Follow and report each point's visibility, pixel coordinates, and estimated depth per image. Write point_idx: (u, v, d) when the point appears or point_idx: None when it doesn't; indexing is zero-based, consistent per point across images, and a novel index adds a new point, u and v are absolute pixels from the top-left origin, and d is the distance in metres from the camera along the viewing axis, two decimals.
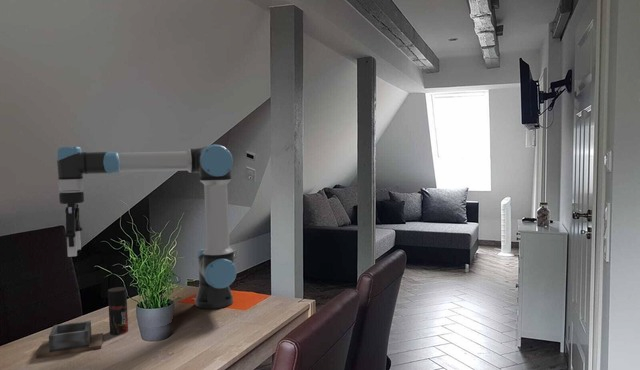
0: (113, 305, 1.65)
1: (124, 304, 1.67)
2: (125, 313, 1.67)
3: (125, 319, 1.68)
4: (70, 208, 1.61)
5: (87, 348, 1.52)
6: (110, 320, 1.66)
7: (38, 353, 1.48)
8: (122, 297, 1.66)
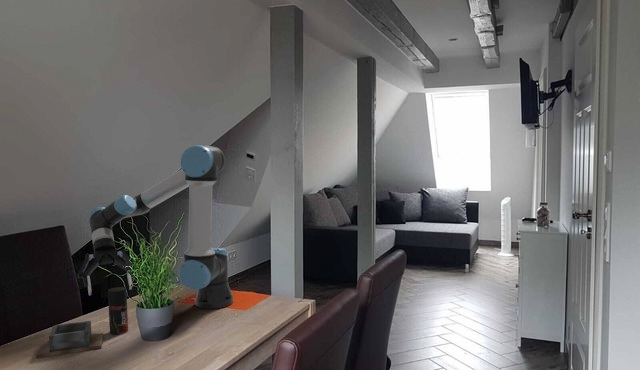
0: (113, 305, 1.65)
1: (124, 304, 1.67)
2: (125, 313, 1.67)
3: (125, 319, 1.68)
4: None
5: (87, 348, 1.52)
6: (110, 320, 1.66)
7: (38, 353, 1.48)
8: (122, 297, 1.66)
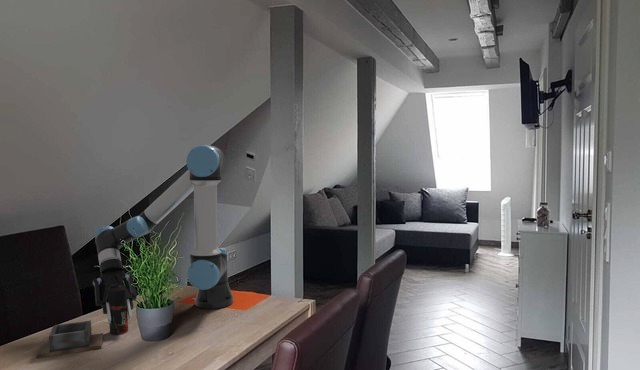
0: (113, 305, 1.65)
1: (124, 304, 1.67)
2: (125, 313, 1.67)
3: (125, 319, 1.68)
4: None
5: (87, 348, 1.52)
6: None
7: (38, 353, 1.48)
8: (122, 297, 1.66)
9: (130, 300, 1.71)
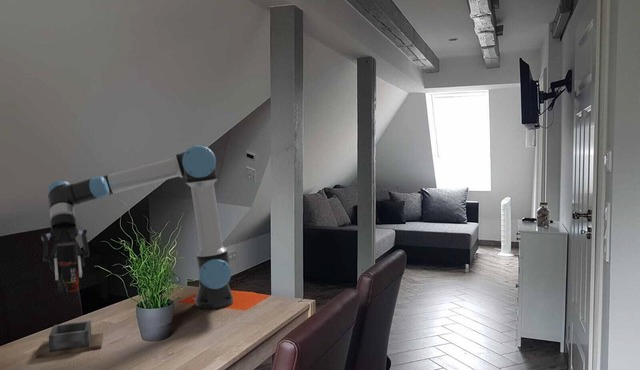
0: (61, 260, 1.52)
1: (74, 260, 1.54)
2: (74, 269, 1.54)
3: (75, 276, 1.54)
4: (41, 236, 1.58)
5: (87, 348, 1.52)
6: (58, 277, 1.53)
7: (38, 353, 1.48)
8: (71, 252, 1.53)
9: (81, 257, 1.57)
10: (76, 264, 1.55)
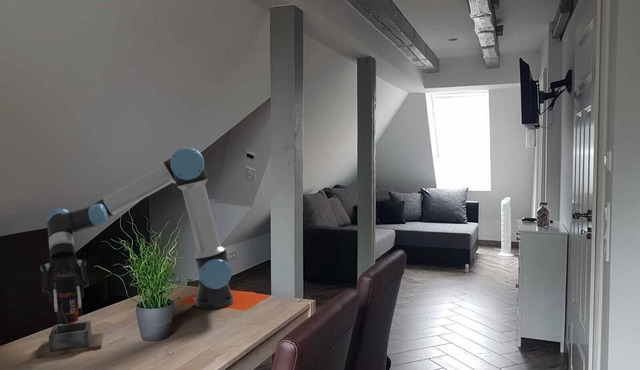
0: (60, 292, 1.52)
1: (73, 291, 1.54)
2: (74, 300, 1.54)
3: (74, 307, 1.55)
4: None
5: (87, 348, 1.52)
6: None
7: (38, 353, 1.48)
8: (70, 283, 1.53)
9: (81, 287, 1.58)
10: (75, 295, 1.55)
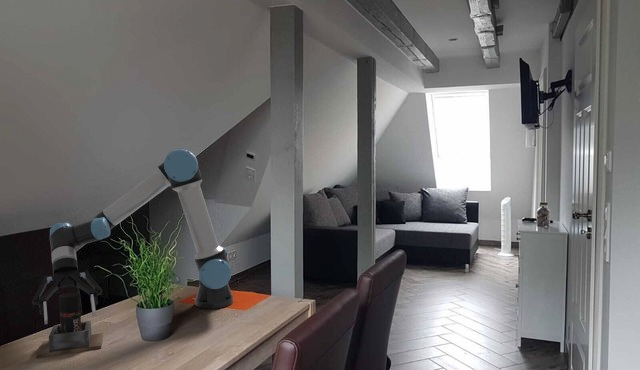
0: (64, 312, 1.53)
1: (76, 311, 1.55)
2: (77, 320, 1.55)
3: (78, 327, 1.55)
4: (43, 278, 1.59)
5: (87, 348, 1.52)
6: (61, 328, 1.54)
7: (38, 353, 1.48)
8: (74, 303, 1.54)
9: (94, 295, 1.61)
10: (79, 314, 1.56)
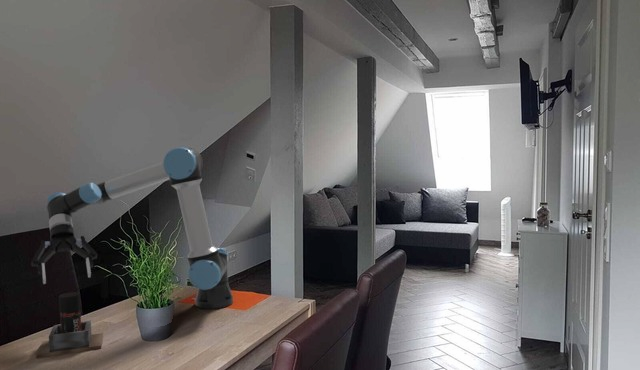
0: (64, 312, 1.53)
1: (77, 311, 1.55)
2: (77, 320, 1.55)
3: (78, 327, 1.55)
4: None
5: (87, 348, 1.52)
6: (61, 328, 1.54)
7: (38, 353, 1.48)
8: (74, 303, 1.54)
9: (90, 259, 1.71)
10: (79, 314, 1.56)
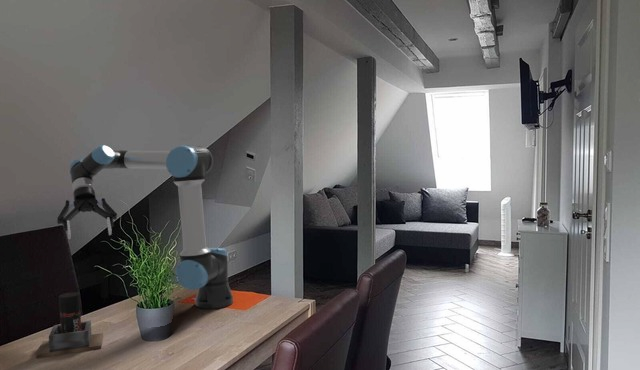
0: (64, 312, 1.53)
1: (76, 311, 1.55)
2: (77, 320, 1.55)
3: (78, 327, 1.55)
4: None
5: (87, 348, 1.52)
6: (61, 328, 1.54)
7: (38, 353, 1.48)
8: (74, 303, 1.54)
9: (110, 218, 1.85)
10: (79, 314, 1.56)
